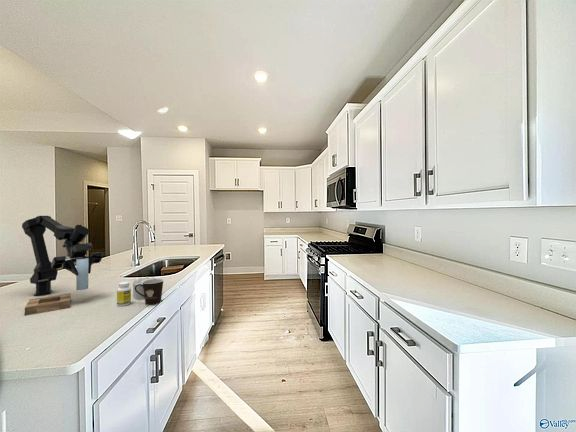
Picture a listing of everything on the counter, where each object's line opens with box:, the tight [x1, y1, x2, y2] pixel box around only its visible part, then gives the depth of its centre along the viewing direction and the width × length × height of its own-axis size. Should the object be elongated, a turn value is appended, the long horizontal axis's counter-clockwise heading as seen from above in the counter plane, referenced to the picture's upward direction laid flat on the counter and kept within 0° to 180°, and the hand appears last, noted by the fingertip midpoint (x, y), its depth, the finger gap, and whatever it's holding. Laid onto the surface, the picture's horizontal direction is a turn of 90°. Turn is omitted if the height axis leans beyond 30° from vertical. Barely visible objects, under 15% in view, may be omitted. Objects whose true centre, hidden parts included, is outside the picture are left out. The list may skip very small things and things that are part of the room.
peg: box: [75, 258, 89, 291], centre depth 120 cm, size 4×4×14 cm
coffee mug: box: [135, 278, 164, 306], centre depth 120 cm, size 12×9×10 cm
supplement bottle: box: [116, 281, 132, 307], centre depth 117 cm, size 5×5×10 cm
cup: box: [132, 276, 157, 301], centre depth 131 cm, size 10×13×9 cm
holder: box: [24, 293, 71, 316], centre depth 114 cm, size 14×14×3 cm
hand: (83, 274), depth 119 cm, fingers closed on peg, 4 cm apart
